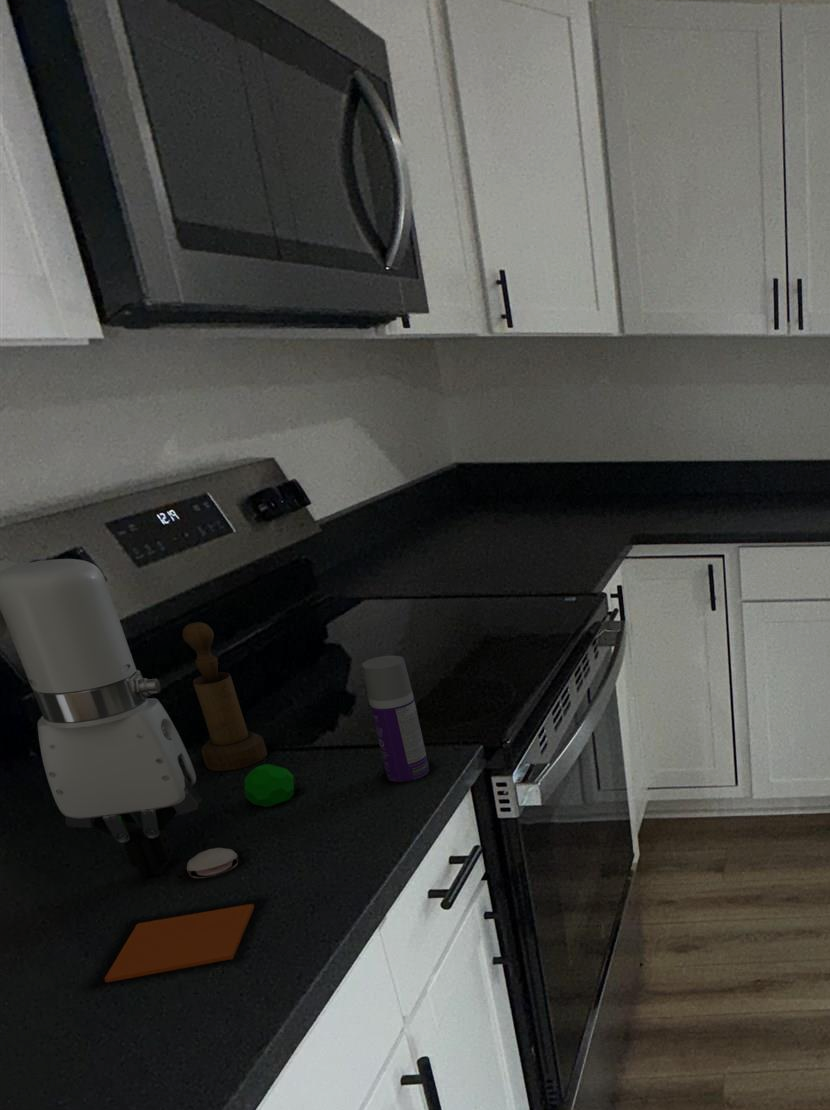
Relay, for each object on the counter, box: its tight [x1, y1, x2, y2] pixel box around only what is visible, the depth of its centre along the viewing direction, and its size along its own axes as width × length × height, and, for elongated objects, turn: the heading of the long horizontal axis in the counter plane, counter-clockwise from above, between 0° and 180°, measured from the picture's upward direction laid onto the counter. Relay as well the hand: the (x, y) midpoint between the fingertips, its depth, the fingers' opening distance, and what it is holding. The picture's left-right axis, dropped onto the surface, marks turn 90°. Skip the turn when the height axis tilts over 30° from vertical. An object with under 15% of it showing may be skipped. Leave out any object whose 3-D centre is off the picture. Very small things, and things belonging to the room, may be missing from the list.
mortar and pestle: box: [181, 621, 268, 772], centre depth 113 cm, size 7×6×18 cm
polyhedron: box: [244, 763, 295, 808], centre depth 105 cm, size 5×5×5 cm
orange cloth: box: [104, 903, 255, 983], centre depth 82 cm, size 10×9×1 cm
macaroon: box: [186, 847, 239, 879], centre depth 93 cm, size 4×5×2 cm
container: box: [361, 655, 430, 783], centre depth 109 cm, size 5×5×15 cm
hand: (156, 868), depth 92 cm, fingers closed
